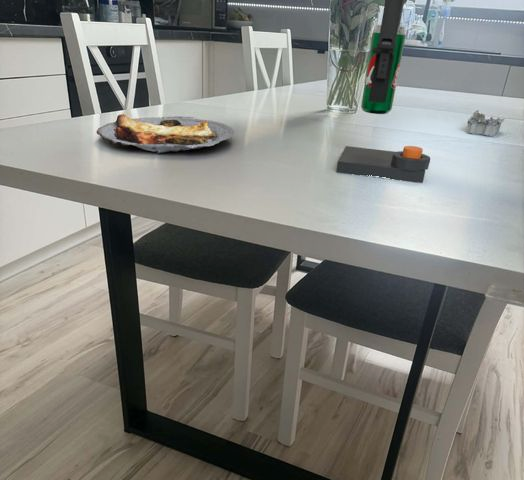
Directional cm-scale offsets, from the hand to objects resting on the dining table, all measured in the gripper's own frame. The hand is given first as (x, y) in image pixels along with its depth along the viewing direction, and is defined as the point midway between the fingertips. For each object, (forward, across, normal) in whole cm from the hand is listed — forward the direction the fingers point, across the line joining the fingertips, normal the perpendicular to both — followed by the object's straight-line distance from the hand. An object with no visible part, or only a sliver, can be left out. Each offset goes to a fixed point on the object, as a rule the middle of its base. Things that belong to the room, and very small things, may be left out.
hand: (378, 99), depth 79 cm
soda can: (+2, 0, 0) cm, 2 cm away
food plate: (+11, -1, +38) cm, 39 cm away
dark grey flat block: (+10, -2, -2) cm, 11 cm away
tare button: (+7, -6, -7) cm, 12 cm away
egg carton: (+11, +47, -25) cm, 54 cm away
